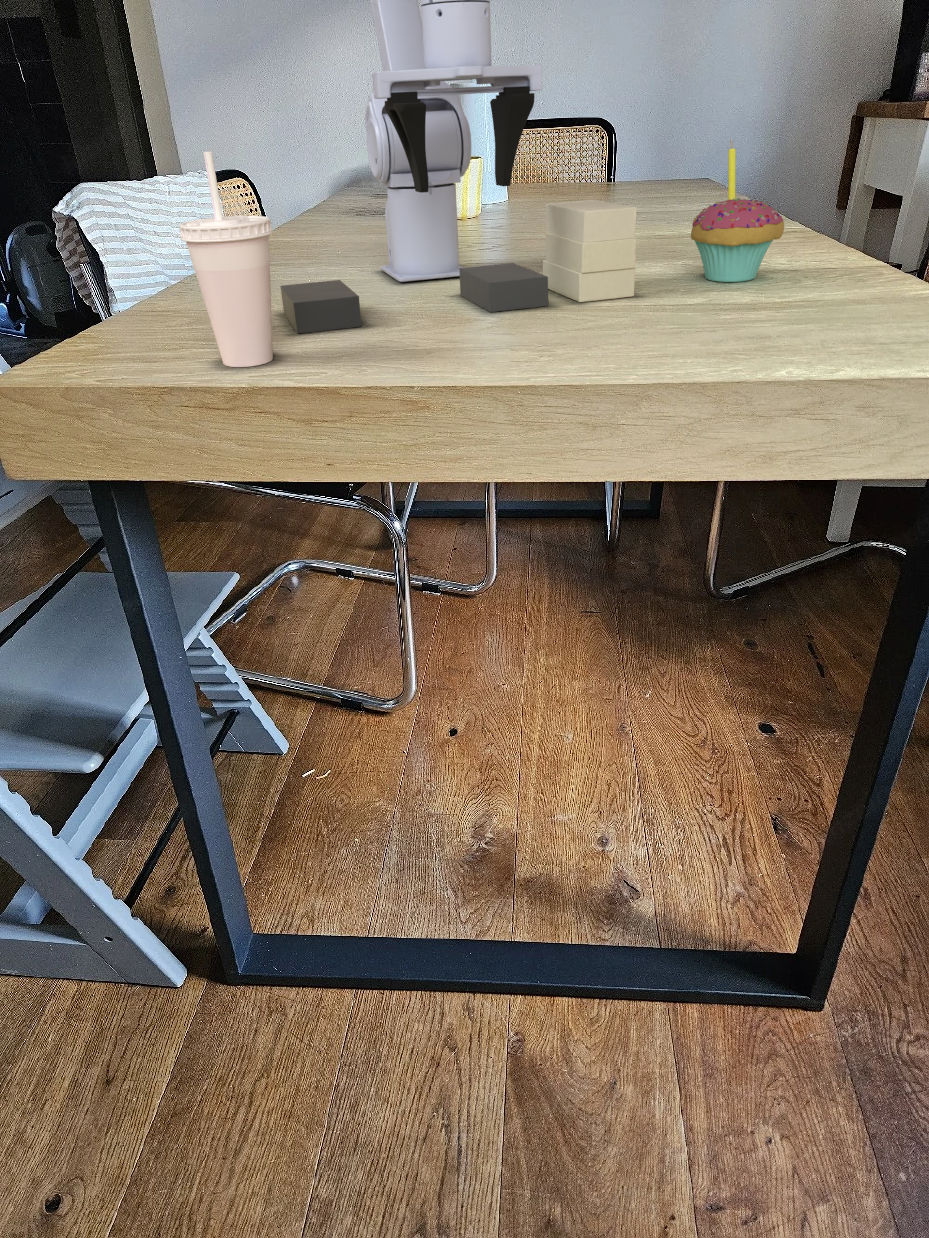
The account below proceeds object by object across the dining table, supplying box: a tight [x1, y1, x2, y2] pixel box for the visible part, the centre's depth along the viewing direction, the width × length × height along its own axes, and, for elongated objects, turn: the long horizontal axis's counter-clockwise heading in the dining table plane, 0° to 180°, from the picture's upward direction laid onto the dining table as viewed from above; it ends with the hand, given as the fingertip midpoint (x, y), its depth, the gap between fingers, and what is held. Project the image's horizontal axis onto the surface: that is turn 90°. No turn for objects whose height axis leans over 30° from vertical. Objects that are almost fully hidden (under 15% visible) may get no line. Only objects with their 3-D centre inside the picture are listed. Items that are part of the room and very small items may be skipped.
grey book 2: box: [459, 262, 549, 313], centre depth 82 cm, size 9×6×2 cm, turn 17°
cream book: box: [545, 199, 638, 243], centre depth 81 cm, size 9×5×2 cm, turn 17°
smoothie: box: [178, 150, 274, 368], centre depth 63 cm, size 6×6×14 cm
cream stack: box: [542, 232, 637, 303], centre depth 83 cm, size 9×6×5 cm, turn 17°
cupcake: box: [690, 138, 785, 283], centre depth 84 cm, size 9×8×12 cm
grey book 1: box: [279, 279, 363, 335], centre depth 78 cm, size 9×6×2 cm, turn 17°
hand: (462, 188), depth 80 cm, fingers open, 7 cm apart
